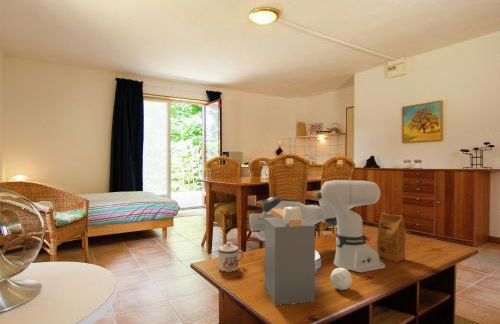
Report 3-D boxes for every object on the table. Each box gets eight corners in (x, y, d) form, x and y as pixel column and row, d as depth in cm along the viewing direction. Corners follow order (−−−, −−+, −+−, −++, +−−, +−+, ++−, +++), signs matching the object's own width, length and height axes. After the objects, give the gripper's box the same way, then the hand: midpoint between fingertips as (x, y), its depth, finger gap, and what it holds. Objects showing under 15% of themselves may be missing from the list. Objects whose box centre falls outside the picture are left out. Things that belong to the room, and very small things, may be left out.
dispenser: (299, 284, 112) (299, 217, 112) (314, 302, 98) (314, 225, 98) (264, 286, 109) (264, 218, 109) (274, 305, 95) (275, 227, 95)
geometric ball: (335, 294, 109) (325, 273, 113) (354, 286, 110) (343, 266, 114) (338, 292, 103) (327, 270, 107) (358, 284, 103) (347, 262, 107)
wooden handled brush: (281, 213, 120) (281, 198, 120) (302, 226, 97) (302, 208, 97) (269, 213, 119) (269, 199, 119) (288, 226, 96) (288, 208, 96)
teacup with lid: (222, 274, 122) (222, 246, 122) (215, 267, 130) (215, 241, 130) (247, 269, 127) (248, 242, 127) (239, 262, 135) (239, 237, 135)
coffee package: (385, 253, 150) (385, 210, 150) (408, 260, 140) (409, 214, 140) (373, 256, 145) (373, 212, 145) (396, 263, 134) (397, 216, 134)
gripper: (292, 229, 130) (301, 219, 118) (247, 231, 126) (252, 221, 114) (289, 216, 133) (299, 205, 121) (246, 217, 129) (251, 206, 118)
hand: (276, 213), depth 118 cm, fingers open, 8 cm apart
